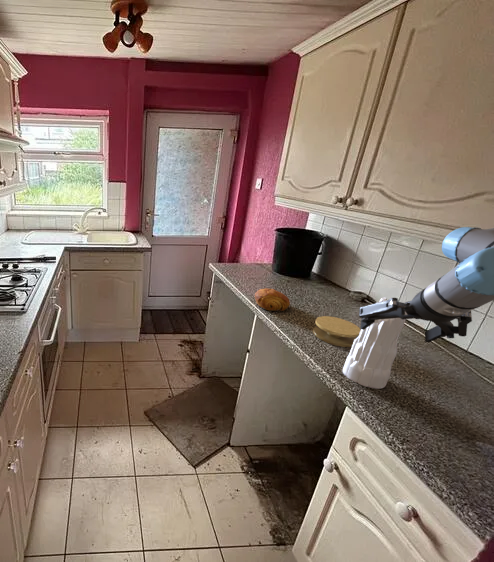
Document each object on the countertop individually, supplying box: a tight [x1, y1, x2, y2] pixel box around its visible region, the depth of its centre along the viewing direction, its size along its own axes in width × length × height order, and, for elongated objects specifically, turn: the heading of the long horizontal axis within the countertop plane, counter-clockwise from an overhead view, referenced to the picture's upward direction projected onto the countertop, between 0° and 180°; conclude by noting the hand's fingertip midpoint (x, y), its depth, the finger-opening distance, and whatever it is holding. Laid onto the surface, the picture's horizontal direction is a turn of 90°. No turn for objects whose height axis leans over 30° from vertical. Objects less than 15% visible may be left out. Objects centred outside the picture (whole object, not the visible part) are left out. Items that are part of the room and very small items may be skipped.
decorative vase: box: [342, 296, 408, 390], centre depth 90 cm, size 11×11×25 cm
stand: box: [312, 315, 361, 348], centre depth 116 cm, size 14×14×5 cm
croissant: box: [254, 287, 291, 312], centre depth 140 cm, size 14×16×8 cm
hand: (393, 330), depth 82 cm, fingers open, 13 cm apart
